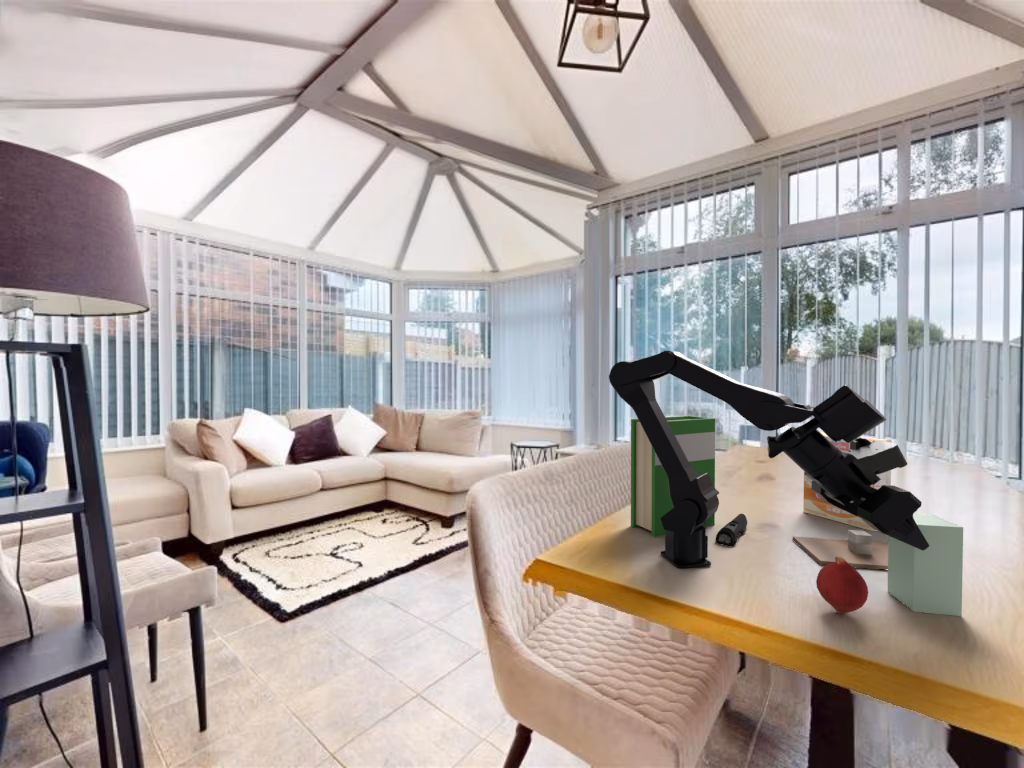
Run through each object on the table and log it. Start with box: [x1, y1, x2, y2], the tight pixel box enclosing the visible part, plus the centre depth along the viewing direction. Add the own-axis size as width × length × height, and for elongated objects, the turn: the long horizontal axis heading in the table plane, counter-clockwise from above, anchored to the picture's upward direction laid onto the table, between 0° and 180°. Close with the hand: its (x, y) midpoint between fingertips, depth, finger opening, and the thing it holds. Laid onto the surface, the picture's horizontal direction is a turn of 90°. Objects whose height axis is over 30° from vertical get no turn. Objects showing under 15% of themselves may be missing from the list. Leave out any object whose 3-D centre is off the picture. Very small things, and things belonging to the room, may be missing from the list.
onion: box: [815, 556, 869, 614], centre depth 62 cm, size 6×6×8 cm
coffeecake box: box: [802, 431, 893, 532], centre depth 102 cm, size 15×7×20 cm, turn 25°
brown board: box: [792, 529, 888, 570], centre depth 82 cm, size 18×12×4 cm, turn 78°
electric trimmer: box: [715, 513, 748, 547], centre depth 93 cm, size 4×16×3 cm, turn 140°
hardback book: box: [630, 415, 716, 538], centre depth 98 cm, size 18×7×24 cm, turn 115°
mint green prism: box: [887, 512, 964, 617], centre depth 65 cm, size 6×6×12 cm
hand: (903, 536), depth 65 cm, fingers open, 9 cm apart
